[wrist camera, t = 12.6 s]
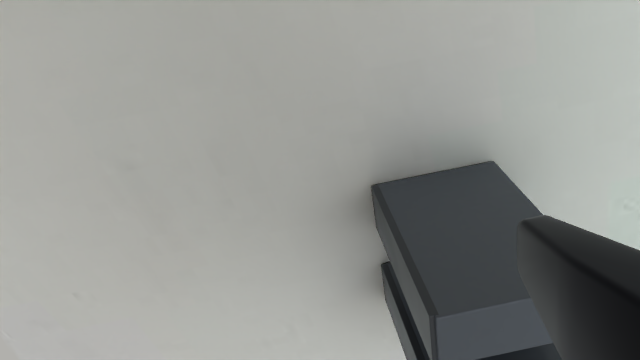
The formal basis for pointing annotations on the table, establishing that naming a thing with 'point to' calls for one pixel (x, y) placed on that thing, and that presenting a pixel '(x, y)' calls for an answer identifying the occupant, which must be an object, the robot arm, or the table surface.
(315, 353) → the table surface
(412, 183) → the grey books
